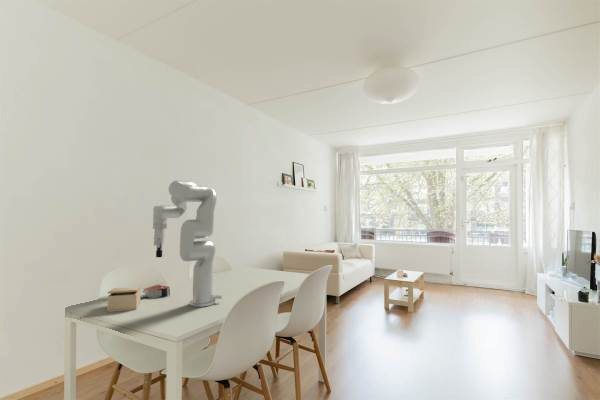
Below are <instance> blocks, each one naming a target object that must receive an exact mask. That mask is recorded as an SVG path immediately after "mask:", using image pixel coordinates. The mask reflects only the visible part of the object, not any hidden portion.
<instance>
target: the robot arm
mask: <svg viewBox="0 0 600 400" xmlns="http://www.w3.org/2000/svg"><path fill="white" fill-rule="evenodd" d="M168 192H169V194H170V199H171V203H172V204H173V205H170V204H169V205H166V204H165V205H161V204H160V205H154V207H153V213H152V214H153V218H152V219H153V220H152V229H153V230H154V232H153V233H154V234H153V235H154V236H153V246H154V247H156V251H155V254H156V255H155V257H156V258H162V257H163V245H164V243H165V230H166V229H167V227H168V225H167V223H168V219H177V218H181V217H182V216H183V215H184V214H185V213H186V211H187V207H188V205H187V203H188V202H189V203H200V204H199V206H198V207H197V210H196V216H195V217H196V218H195V219H186V220H185V221H183V223H182V225H181V227H180V236H179V238H180V239H179V256H180V259H181V260H182V261H184V262H195V263H194V266H193V270H192V299H191V300H190V301H189V306H192V307H194V308H195V307H196V308H200V307H204V308H205V307H209V306H212V305H214V304H216V300H222V297H223V296H222V294H214V293H213V292H214V291H213V282H214V281H213V280H214V279H213V278H214V276H213V275H214V274H213V273H214V260H215V255H216V246H215V244H214V242H212V241H210V240H196V241H195V239H206V238H210V237H212V236H213V232H214V222H215V221H214V219H215V208H216V205H217V193H216V191H215V190H214V188H212V187H210V186H205V185H197V184H195V182H192V181H187V180H173V181H172V182H171V183H170V184H169V186H168Z"/></svg>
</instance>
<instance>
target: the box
mask: <svg viewBox="0 0 600 400" xmlns="http://www.w3.org/2000/svg"><path fill="white" fill-rule="evenodd" d="M140 293H141V289H139V290H138V291H137V292H122V293H109V295H108V296H107V308H106V312H107V313H109V312H121V311H124V312H125V311H132V310H133V311H134V310H137V309H138V307H139V306H140V304H141V298H140Z"/></svg>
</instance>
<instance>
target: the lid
mask: <svg viewBox="0 0 600 400" xmlns="http://www.w3.org/2000/svg"><path fill="white" fill-rule="evenodd" d="M139 289H141V286H132V287H131V286H130V287H117V288H116V287H115V288H112V289H110V290H108V291H107V294H111V293H122V292H137V291H138V290H139Z"/></svg>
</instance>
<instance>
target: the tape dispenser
mask: <svg viewBox="0 0 600 400" xmlns="http://www.w3.org/2000/svg"><path fill="white" fill-rule="evenodd" d="M170 295H171V291H170V285H169V286H168V285H161V284H156V285H152V286H149V287H146V288H143V291H142V292H140V299H142V298H149V299H151V298H153V299H154V298H158V297H161V298H166V297H167V298H168V297H171V296H170Z"/></svg>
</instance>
